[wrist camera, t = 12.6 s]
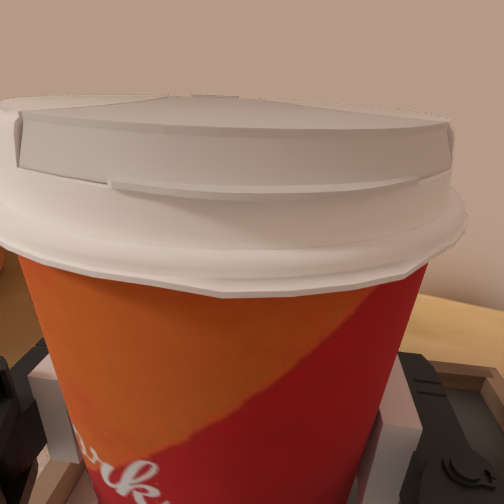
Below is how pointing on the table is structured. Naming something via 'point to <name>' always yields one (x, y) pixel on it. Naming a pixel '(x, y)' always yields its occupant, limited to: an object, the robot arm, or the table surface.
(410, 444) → the robot arm
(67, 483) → the channel
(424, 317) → the table surface
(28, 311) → the table surface
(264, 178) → the coffee cup
